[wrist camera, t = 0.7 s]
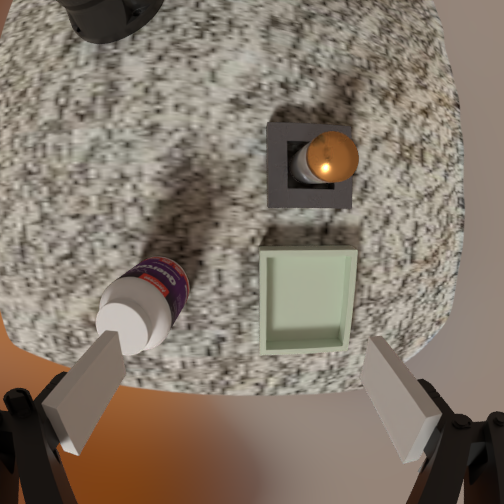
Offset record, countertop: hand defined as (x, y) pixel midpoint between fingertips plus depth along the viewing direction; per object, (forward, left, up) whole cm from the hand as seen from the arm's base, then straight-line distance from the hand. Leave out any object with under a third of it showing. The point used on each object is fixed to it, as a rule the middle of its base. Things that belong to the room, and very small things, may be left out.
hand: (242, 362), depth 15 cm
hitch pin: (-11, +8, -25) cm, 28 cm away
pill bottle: (+4, -11, -25) cm, 28 cm away
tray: (+6, +8, -25) cm, 27 cm away
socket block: (-11, +8, -25) cm, 28 cm away
